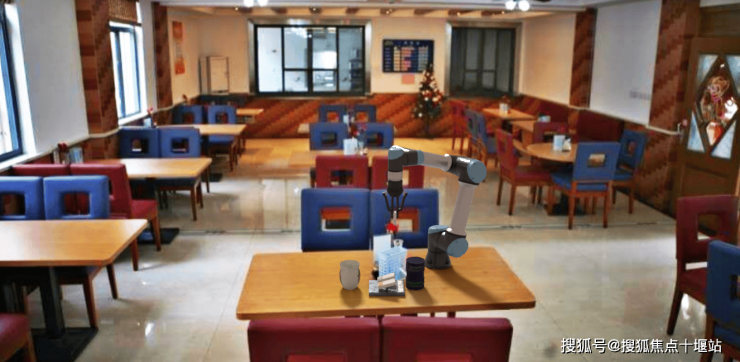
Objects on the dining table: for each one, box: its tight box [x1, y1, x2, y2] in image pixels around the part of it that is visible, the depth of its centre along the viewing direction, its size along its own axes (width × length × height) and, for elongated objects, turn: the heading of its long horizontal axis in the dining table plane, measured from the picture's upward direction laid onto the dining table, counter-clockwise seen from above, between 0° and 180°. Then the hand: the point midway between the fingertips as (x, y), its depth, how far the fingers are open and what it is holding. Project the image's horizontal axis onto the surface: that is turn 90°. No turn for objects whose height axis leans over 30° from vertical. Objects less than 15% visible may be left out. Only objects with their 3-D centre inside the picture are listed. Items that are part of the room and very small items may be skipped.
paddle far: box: [377, 272, 396, 283], centre depth 298 cm, size 9×4×2 cm, turn 89°
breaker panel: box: [368, 279, 406, 297], centre depth 295 cm, size 18×15×4 cm
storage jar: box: [405, 256, 426, 292], centre depth 298 cm, size 10×10×15 cm
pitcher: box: [338, 259, 361, 291], centre depth 298 cm, size 11×18×14 cm, turn 1°
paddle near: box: [378, 277, 396, 289], centre depth 291 cm, size 9×4×2 cm, turn 89°
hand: (394, 224), depth 291 cm, fingers closed
